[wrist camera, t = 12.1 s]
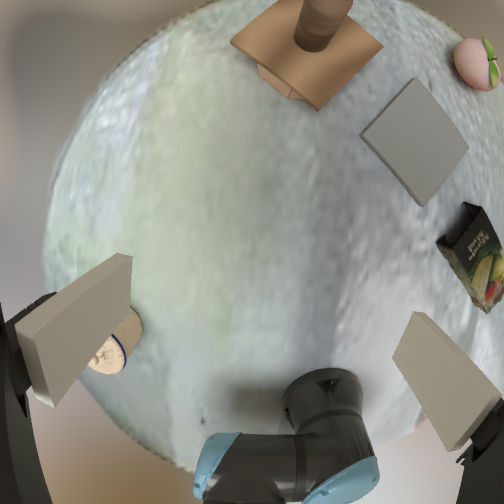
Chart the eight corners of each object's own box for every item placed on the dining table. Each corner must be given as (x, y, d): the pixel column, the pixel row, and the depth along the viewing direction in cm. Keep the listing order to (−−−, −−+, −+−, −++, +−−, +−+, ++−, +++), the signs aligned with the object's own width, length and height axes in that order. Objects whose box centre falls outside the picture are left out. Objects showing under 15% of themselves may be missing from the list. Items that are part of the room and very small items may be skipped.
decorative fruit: (435, 42, 29) (468, 24, 19) (467, 50, 28) (500, 36, 19) (449, 93, 32) (488, 83, 22) (480, 97, 31) (517, 91, 21)
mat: (463, 147, 34) (469, 147, 33) (418, 205, 37) (423, 207, 36) (411, 79, 32) (416, 76, 30) (359, 135, 35) (362, 134, 33)
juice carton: (501, 270, 40) (519, 282, 35) (473, 306, 43) (490, 321, 37) (463, 198, 37) (485, 204, 31) (430, 240, 40) (450, 252, 34)
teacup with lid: (102, 289, 43) (65, 324, 31) (149, 312, 44) (122, 354, 32) (94, 341, 46) (65, 378, 35) (136, 362, 47) (113, 404, 36)
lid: (380, 49, 26) (422, 15, 15) (317, 111, 29) (345, 86, 18) (300, -12, 23) (313, -63, 13) (230, 44, 26) (219, -4, 16)
